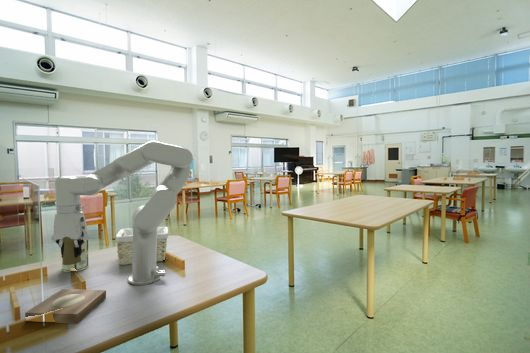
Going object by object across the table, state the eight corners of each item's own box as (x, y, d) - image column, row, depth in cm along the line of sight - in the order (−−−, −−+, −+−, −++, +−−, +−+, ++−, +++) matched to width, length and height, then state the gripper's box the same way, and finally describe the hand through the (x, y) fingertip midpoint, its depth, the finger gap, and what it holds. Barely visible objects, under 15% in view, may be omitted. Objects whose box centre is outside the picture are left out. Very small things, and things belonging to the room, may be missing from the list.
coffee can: (71, 263, 134) (71, 234, 134) (93, 264, 135) (93, 235, 134) (56, 272, 124) (55, 240, 123) (79, 272, 124) (79, 241, 124)
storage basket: (114, 266, 133) (114, 236, 132) (120, 255, 148) (120, 227, 147) (167, 262, 140) (168, 233, 139) (168, 252, 155) (168, 225, 155)
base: (106, 298, 103) (106, 289, 103) (77, 323, 87) (77, 313, 87) (62, 296, 103) (62, 288, 102) (25, 322, 87) (25, 312, 86)
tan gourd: (71, 265, 104) (69, 236, 103) (58, 264, 105) (56, 235, 104) (85, 259, 110) (83, 232, 109) (72, 258, 111) (70, 231, 110)
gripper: (96, 207, 110) (99, 252, 111) (53, 207, 110) (56, 253, 111) (84, 211, 102) (87, 259, 104) (38, 211, 102) (42, 260, 103)
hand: (71, 255), depth 107 cm, fingers closed on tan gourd, 4 cm apart
